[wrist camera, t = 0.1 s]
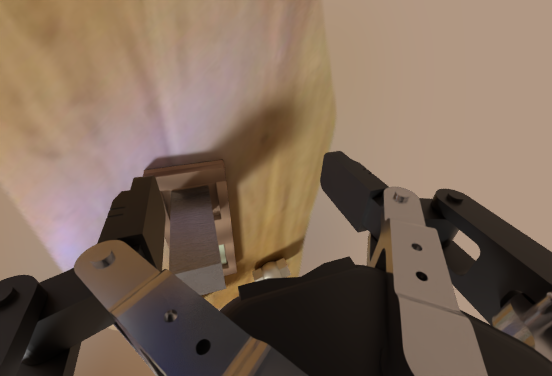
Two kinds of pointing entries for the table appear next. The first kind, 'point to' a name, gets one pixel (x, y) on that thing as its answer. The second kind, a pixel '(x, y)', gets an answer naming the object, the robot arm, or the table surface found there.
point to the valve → (272, 270)
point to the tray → (216, 181)
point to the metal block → (195, 241)
